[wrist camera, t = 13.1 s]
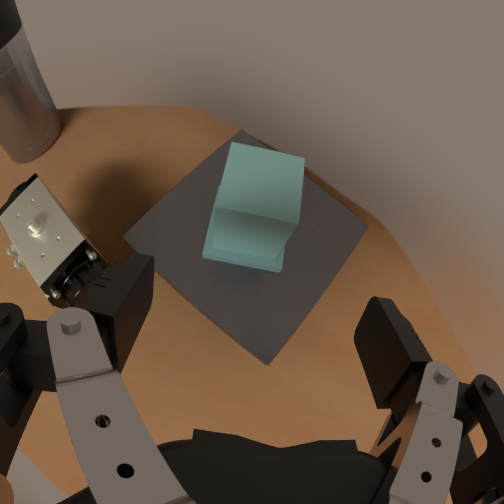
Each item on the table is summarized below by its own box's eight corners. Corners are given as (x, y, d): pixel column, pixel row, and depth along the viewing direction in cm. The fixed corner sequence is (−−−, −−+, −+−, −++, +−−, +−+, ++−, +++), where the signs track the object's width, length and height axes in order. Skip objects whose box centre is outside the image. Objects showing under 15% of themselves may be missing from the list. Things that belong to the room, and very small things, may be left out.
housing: (202, 257, 25) (200, 215, 17) (220, 182, 27) (226, 123, 20) (279, 272, 25) (309, 237, 18) (288, 196, 28) (315, 143, 20)
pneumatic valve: (73, 218, 29) (23, 156, 18) (138, 293, 28) (96, 253, 17) (39, 252, 27) (-22, 203, 16) (100, 332, 26) (39, 315, 15)
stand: (134, 255, 29) (122, 237, 24) (236, 157, 34) (241, 129, 30) (258, 363, 27) (268, 365, 23) (347, 244, 33) (368, 226, 28)
